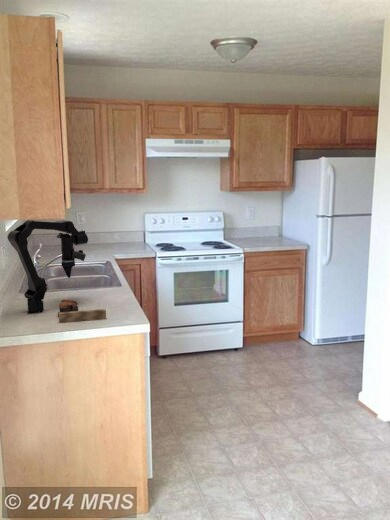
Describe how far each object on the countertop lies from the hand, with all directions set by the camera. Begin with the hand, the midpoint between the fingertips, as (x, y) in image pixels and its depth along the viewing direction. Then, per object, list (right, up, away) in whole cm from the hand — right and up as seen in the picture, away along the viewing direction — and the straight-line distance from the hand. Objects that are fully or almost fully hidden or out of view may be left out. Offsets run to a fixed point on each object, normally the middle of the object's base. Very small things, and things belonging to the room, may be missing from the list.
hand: (69, 277), depth 232 cm
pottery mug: (+5, -17, -18) cm, 25 cm away
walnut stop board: (+13, -18, -25) cm, 33 cm away
